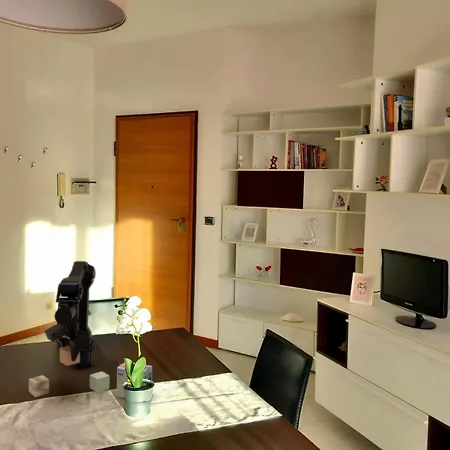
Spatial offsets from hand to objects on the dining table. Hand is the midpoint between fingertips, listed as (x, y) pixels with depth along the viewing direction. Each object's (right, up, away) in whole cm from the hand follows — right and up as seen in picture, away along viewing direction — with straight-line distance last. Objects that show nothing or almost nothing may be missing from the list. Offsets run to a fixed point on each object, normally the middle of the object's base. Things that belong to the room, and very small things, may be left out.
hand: (69, 359), depth 186 cm
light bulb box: (+23, -13, -2) cm, 26 cm away
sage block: (+10, -12, +4) cm, 15 cm away
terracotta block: (0, -1, 0) cm, 1 cm away
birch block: (-10, -11, -2) cm, 15 cm away
